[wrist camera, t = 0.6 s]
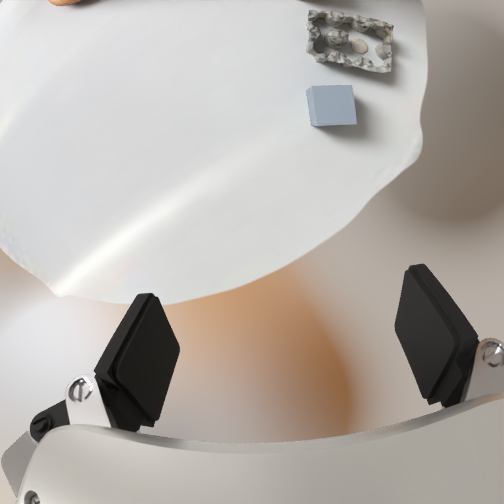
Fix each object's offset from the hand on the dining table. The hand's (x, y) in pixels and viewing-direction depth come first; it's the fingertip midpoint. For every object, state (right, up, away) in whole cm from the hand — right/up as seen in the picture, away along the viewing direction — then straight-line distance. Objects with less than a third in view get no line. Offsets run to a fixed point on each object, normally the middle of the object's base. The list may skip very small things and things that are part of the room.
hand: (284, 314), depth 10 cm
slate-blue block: (+8, +20, +19) cm, 29 cm away
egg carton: (+11, +28, +15) cm, 33 cm away
